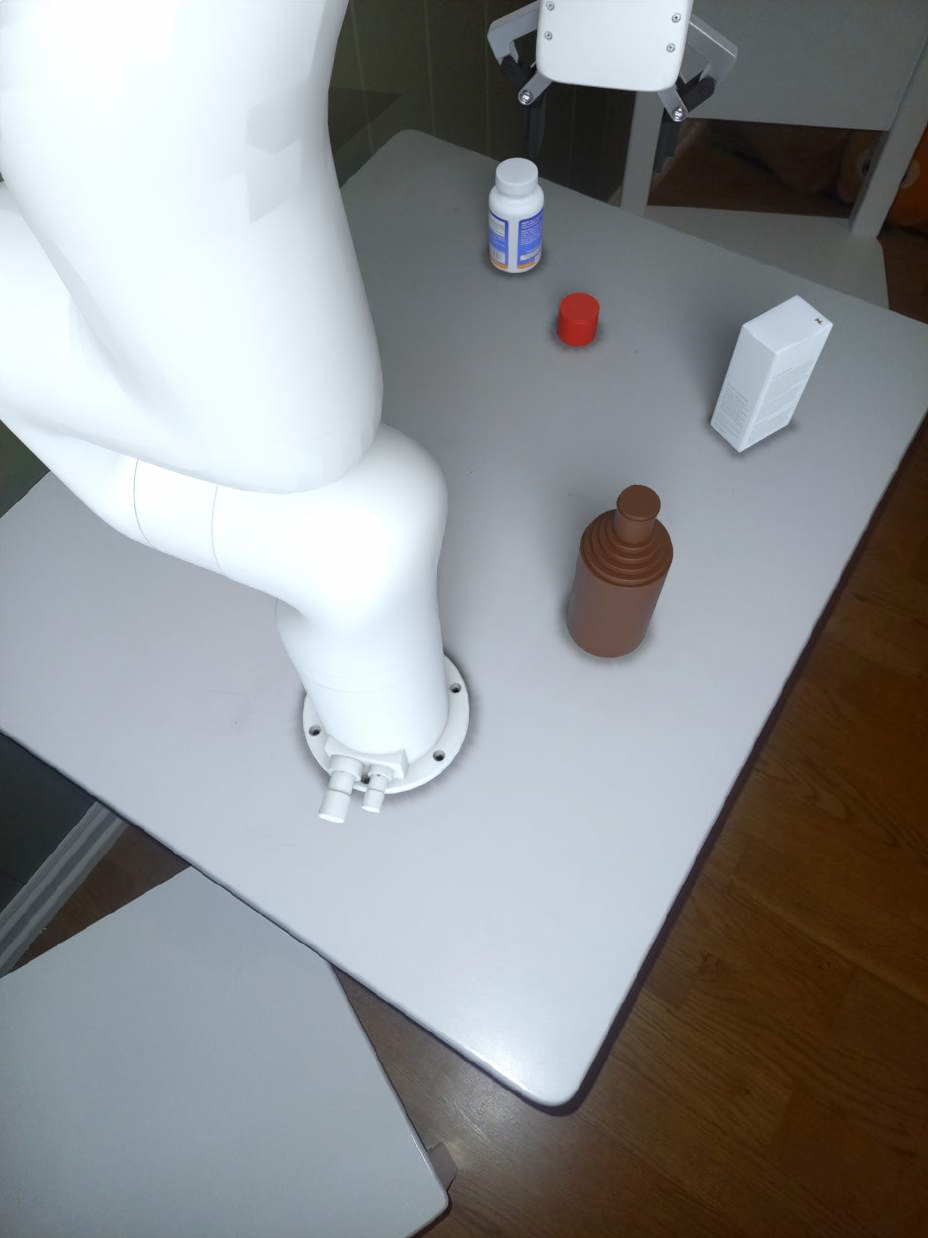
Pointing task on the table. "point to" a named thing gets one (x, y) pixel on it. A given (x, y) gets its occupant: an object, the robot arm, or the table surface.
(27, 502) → the table surface
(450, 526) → the table surface
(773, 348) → the cosmetic box
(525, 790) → the table surface
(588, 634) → the sauce bottle
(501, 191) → the pill bottle
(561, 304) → the cap
